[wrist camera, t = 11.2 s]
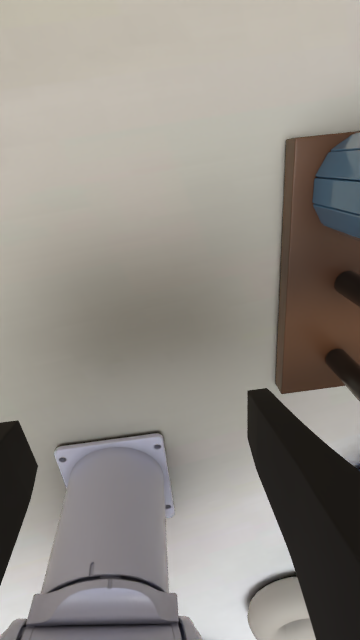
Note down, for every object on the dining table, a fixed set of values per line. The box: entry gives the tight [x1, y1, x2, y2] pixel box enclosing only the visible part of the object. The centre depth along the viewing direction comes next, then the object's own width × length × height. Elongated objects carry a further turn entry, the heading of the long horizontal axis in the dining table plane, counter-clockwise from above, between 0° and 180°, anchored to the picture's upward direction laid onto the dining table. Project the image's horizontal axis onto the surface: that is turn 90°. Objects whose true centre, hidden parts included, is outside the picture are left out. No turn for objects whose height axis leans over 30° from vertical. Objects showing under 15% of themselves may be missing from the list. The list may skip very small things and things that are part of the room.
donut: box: [247, 577, 316, 640], centre depth 35 cm, size 10×4×10 cm
